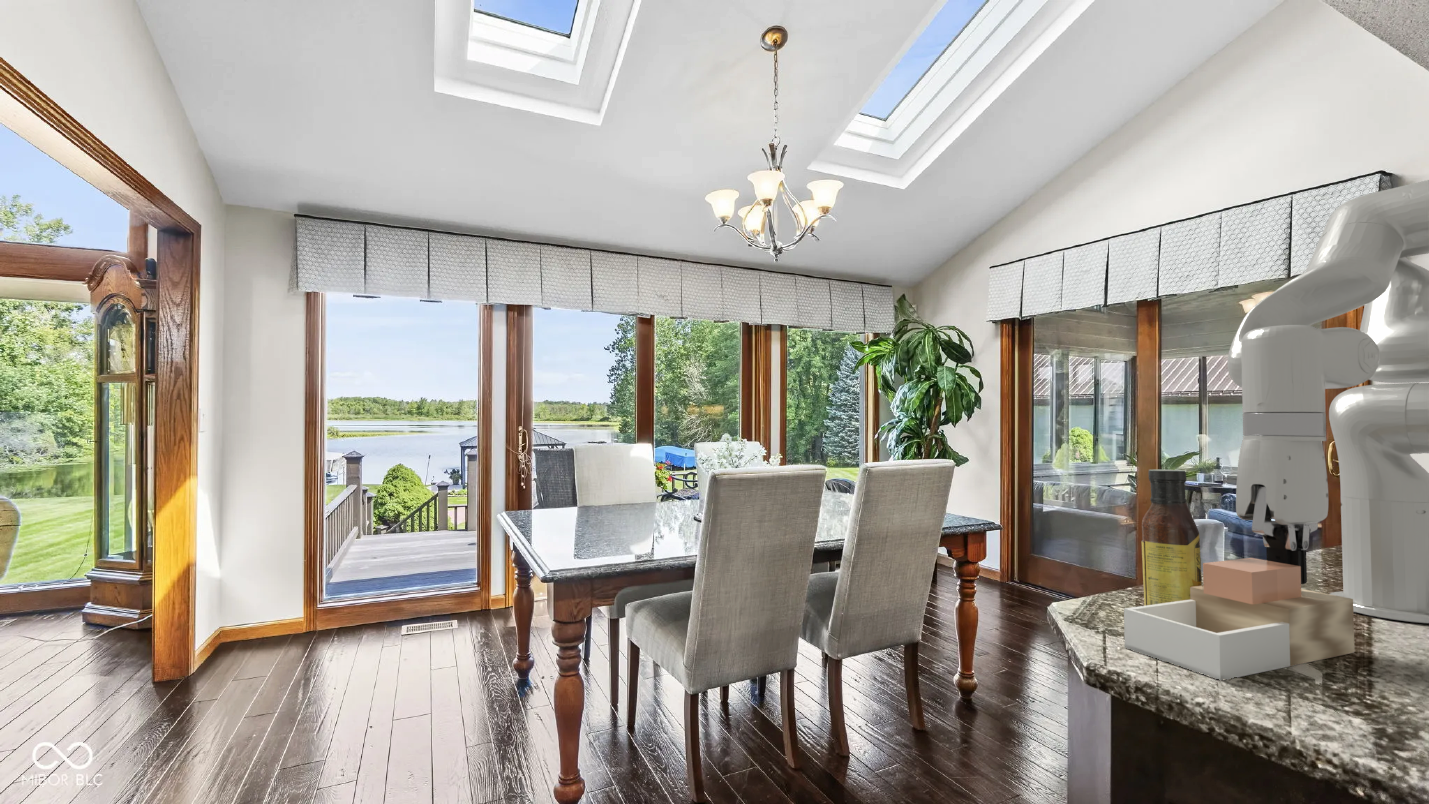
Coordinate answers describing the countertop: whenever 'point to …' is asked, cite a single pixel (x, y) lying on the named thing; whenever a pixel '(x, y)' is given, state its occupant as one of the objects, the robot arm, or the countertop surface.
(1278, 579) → the block
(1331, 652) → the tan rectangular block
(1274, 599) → the block
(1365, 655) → the countertop surface
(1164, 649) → the box
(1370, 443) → the robot arm
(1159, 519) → the sauce bottle
